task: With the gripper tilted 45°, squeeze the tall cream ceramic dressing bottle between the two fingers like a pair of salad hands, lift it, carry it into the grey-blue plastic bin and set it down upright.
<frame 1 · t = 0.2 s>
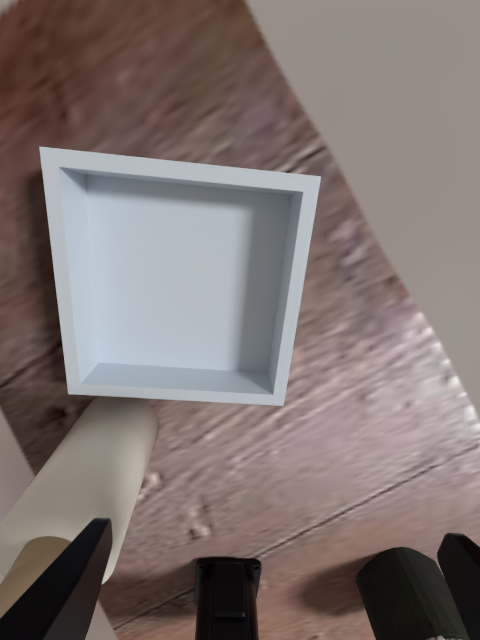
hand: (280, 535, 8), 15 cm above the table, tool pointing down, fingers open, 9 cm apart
dressing bottle: (122, 423, 24), on the table
bin: (188, 283, 20), on the table
sushi: (393, 572, 32), on the table
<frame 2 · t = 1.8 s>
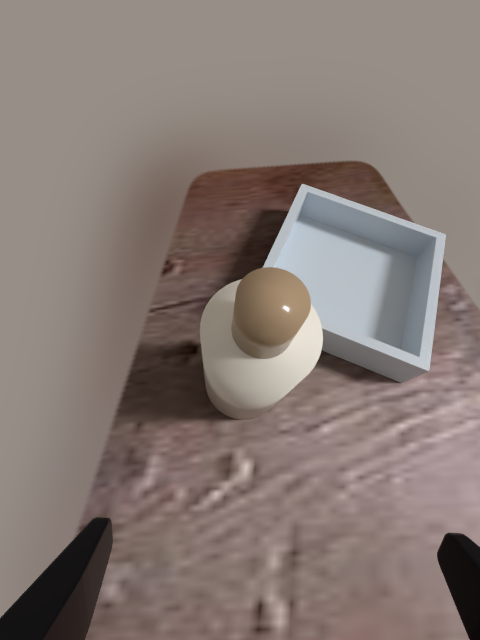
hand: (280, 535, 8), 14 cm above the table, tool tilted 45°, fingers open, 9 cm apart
dressing bottle: (243, 380, 23), on the table
bin: (340, 285, 28), on the table
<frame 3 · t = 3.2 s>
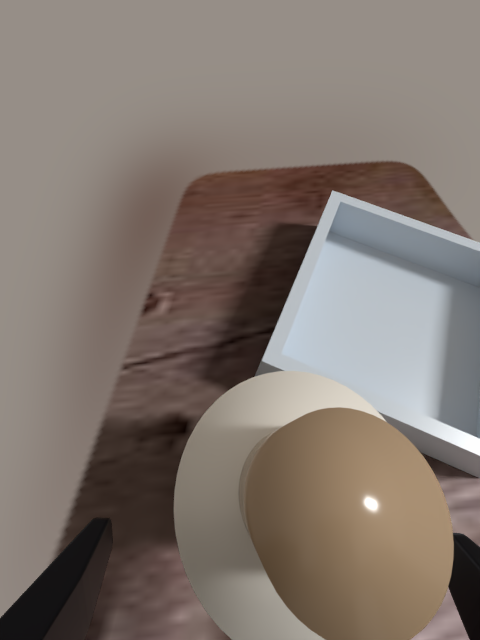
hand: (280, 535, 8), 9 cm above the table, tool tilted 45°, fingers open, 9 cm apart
dressing bottle: (253, 476, 16), on the table
bin: (383, 329, 21), on the table
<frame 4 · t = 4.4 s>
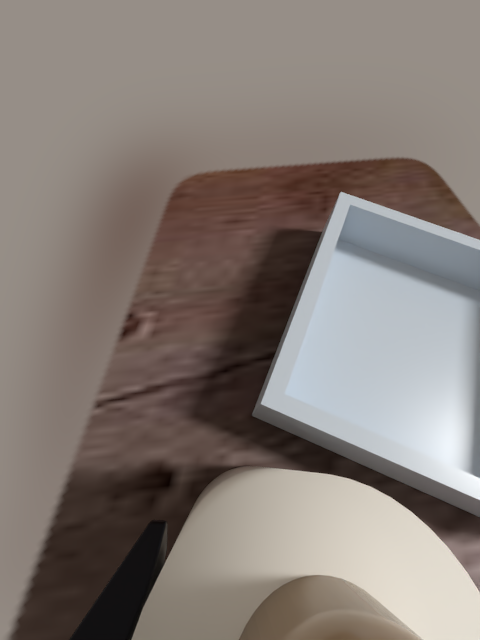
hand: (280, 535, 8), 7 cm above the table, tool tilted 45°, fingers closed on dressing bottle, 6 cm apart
dressing bottle: (251, 540, 13), on the table, touching gripper
bin: (401, 352, 18), on the table
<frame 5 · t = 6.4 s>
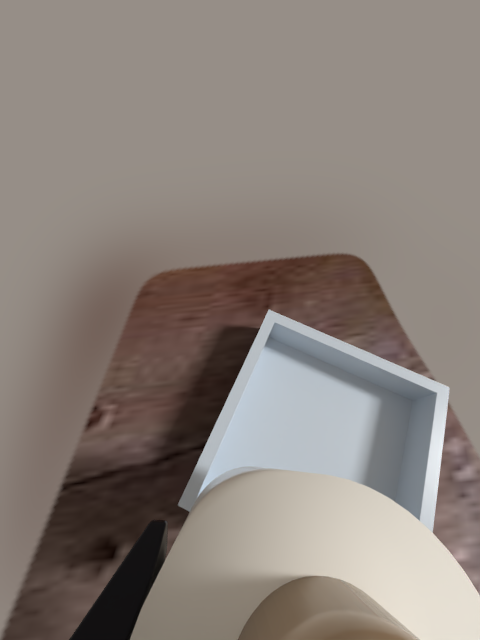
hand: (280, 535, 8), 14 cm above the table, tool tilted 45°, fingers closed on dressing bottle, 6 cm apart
dressing bottle: (251, 541, 13), point 7 cm above the table, touching gripper
bin: (312, 443, 22), on the table
when the fingers open (9 cm above the table, at t = 8.3 s): dressing bottle drops 2 cm, resting on bin.
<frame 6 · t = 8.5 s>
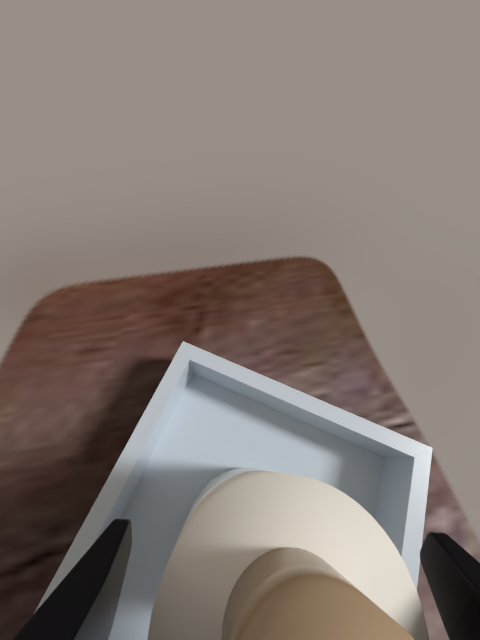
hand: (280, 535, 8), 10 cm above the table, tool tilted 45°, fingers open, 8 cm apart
dressing bottle: (244, 533, 15), point 1 cm above the table, touching bin
bin: (246, 526, 16), on the table
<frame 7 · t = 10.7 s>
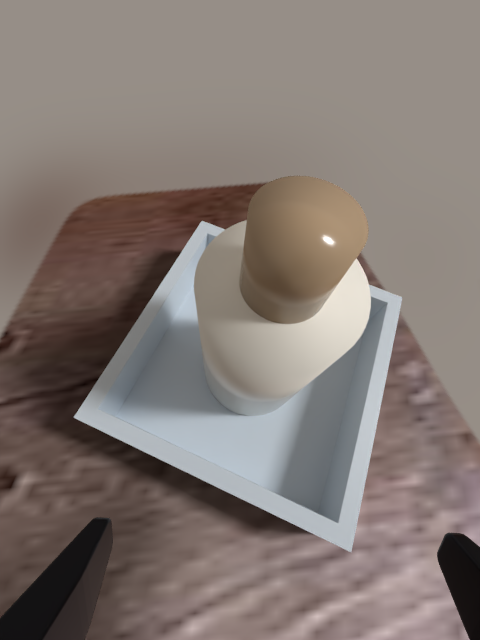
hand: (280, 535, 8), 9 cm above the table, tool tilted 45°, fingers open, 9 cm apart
dressing bottle: (251, 367, 19), point 1 cm above the table, touching bin
bin: (252, 367, 20), on the table
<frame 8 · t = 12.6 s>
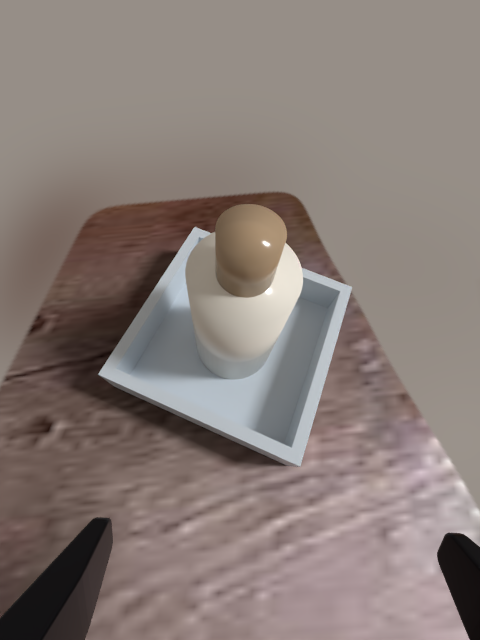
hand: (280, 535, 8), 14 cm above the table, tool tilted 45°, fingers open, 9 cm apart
dressing bottle: (233, 342, 24), point 1 cm above the table, touching bin
bin: (235, 343, 25), on the table
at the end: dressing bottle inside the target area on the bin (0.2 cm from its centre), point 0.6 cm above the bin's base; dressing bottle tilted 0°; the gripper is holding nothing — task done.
